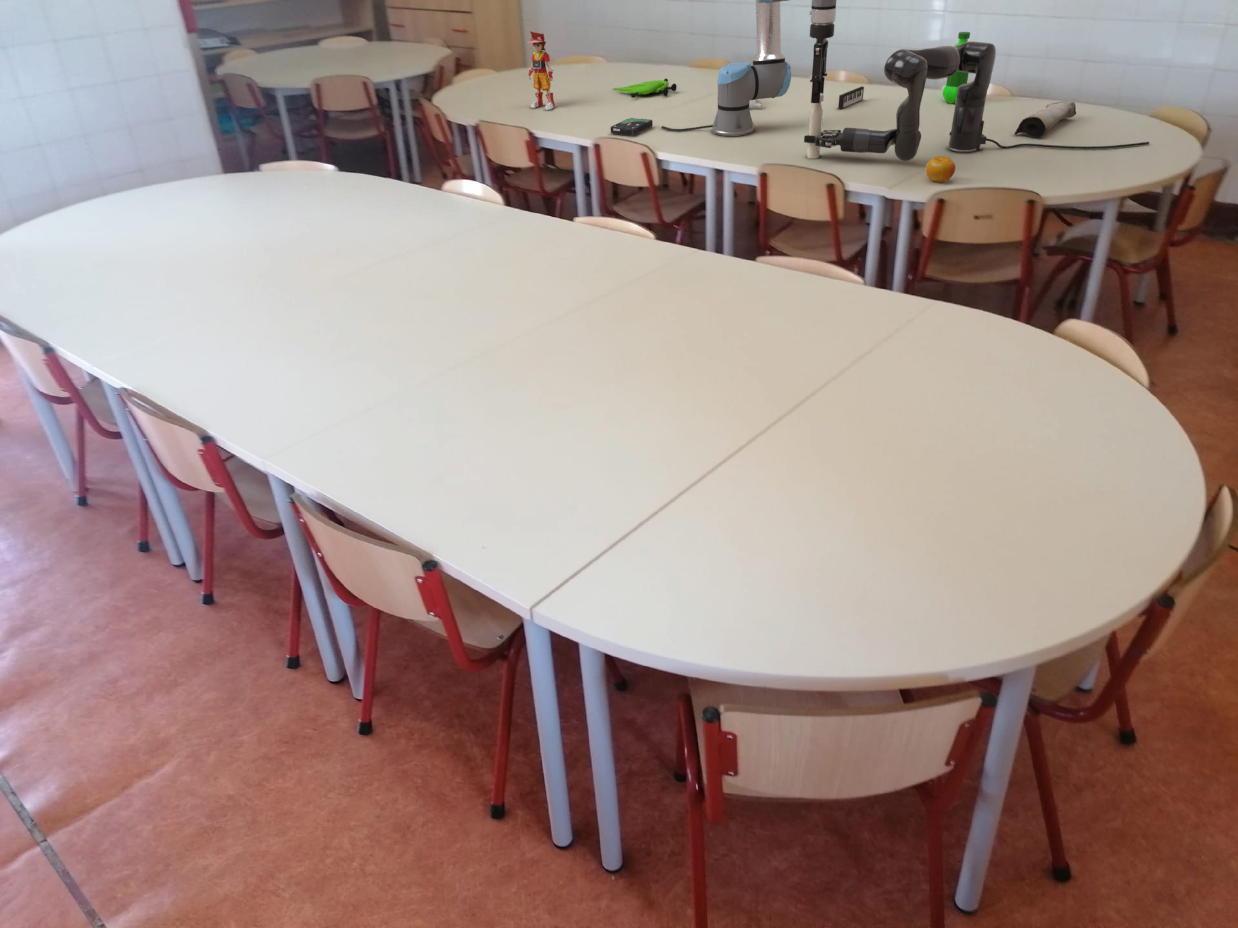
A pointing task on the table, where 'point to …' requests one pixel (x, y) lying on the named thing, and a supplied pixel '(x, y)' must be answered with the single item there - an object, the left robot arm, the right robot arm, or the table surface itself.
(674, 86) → the toy
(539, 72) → the toy
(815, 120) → the bottle
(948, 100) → the plastic bottle
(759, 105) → the anatomical model
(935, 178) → the fruit
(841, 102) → the midi keyboard
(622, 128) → the disk drive
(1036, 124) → the rolled mat
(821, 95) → the cap
